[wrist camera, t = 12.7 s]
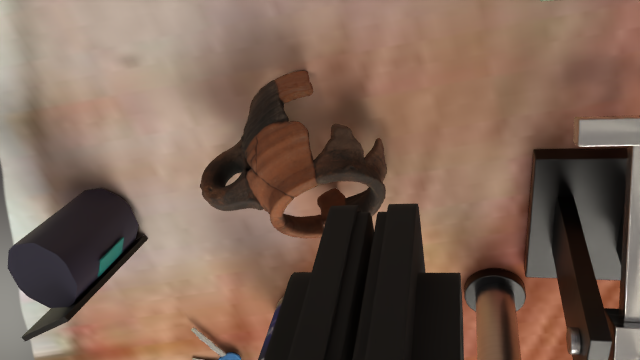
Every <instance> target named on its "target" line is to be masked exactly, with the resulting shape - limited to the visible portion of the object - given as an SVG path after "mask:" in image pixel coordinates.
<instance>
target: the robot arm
mask: <svg viewBox="0 0 640 360" xmlns="http://www.w3.org/2000/svg"><path fill="white" fill-rule="evenodd" d="M264 360H464V346H463V312H462V292H461V276H460V273H425V264H424V254H423V244H422V235H421V225H420V215H419V207H418V204H389V205H388V210H387V212H378V214H377V219H376V225H375V230H374V228H373V222H372V216H371V213H370V212H362V211H361V208H360V206H359V205H343V206H331V207H330V209H329V212H328V216H327V219H326V223H325V226H324V230H323V234H322V237H321V241H320V244H319V248H318V252H317V255H316V259H315V262H314V266H313V270H312V272H294V273H293V274H292V275H291V277H290V279H289V282H288V285H287V288H286V291H285V294H284V297H283V300H282V304H281V307H280V310H279V313H278V316H277V319H276V323H275V326H274V329H273V332H272V335H271V338H270V341H269V345H268V348H267V351H266V354H265V357H264Z"/></svg>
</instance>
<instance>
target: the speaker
mask: <svg viewBox="0 0 640 360" xmlns="http://www.w3.org/2000/svg"><path fill="white" fill-rule="evenodd" d="M138 226H139V225H138V223H137V220H136V218H135V216H134V214H133V212H132V209H131V207H130V206H129V205H128V204H127V203H126V201H125V200H124V199H123V198H121V197H119V196H117V195H115V194H113V193H111V192H109V191H107V190H105V189H103V188H100V189H92V190H85V191H84V192H82V193H81V194H80V195H78V196H77V197H76V198H75V199H73V200H72V201H71V202H69V203H68V204H67V205H65V206H64V207H63V208H61V209H60V210H59V211H58V212H56V213H55V214H54V215H52V216H51V217H50V218H48V219H47V220H46V221H45V222H43V223H42V224H41V225H39V226H38V227H37V228H35V229H34V230H33V231H32V232H30V233H29V234H28V235H26V236H25V237H24V238H22V239H21V240H20V241H18V242H17V243H16V244H15V245H14V246H13V247H12V248H11V249H10V250H9V256H8V269H9V271H10V273H11V275H12V276H13V278H14V280H15V282H16V283H17V285H18V287H19V288H20V289H21V290H22V291H23V292H24V293H25V294H26V295H27V296H28V297H30V298H31V299H33V300H35V301H37V302H39V303H41V304H43V305H45V306H47V307H49V308H51V309H50V310H49V311H48V312H47V313H46V314H45V315H44V316H43V317H42V318H41V319H40V320H39V321H38V322H37V323H36V324H35V325H34V326H32V327H31V328H30V329H29V330H28V331H27V332H26V333H25V334H24V335H23V336H22V338H23V339H24V340H25V341H27V340H29V339H31V338H33V337H35V336H38V335H40V334H42V333H44V332H46V331H48V330H50V329H53V328H55V327H57V326H59V325H61V324H63V323H66V322H68V321H69V320H70V319H71V318H72V317H73V316H74V315H75V314H76V313H77V312H78V311H79V310H80V309H81V308H82V307H83V306H84V305H85V304H86V303H87V301H88V300H89V299H90V298H91V297H92V296H93V295H94V294H95V293H96V292H97V291H98V290H99V289H100V288H101V287H102V286H103V285H104V284H105V283H106V282H107V281H108V280H109V279H110V278H111V277H112V276H113V275H114V274H115V272H116V271H117V270H118V269H119V268H120V267H121V266H122V265H123V264H124V263H125V262H126V261H127V260H128V259H129V258H130V257H131V256H132V255H133V254H134V253H135V252H136V251H137V250H138V249H139V248H140V247H141V246H142V245H143V244H144V242H145V241H146V240H147V239H148V238H147V237H146V236H145V235H144V236H142V237H140V238H139V239H137V240H136V235H137V231H138Z"/></svg>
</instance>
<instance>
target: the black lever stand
mask: <svg viewBox="0 0 640 360" xmlns="http://www.w3.org/2000/svg"><path fill="white" fill-rule="evenodd" d="M626 165H627V148H610V149H538V150H534V151H533V163H532V175H531V187H530V200H529V212H528V224H527V237H526V249H525V261H524V269H525V276H526V277H538V278H557V279H558V284H559V289H560V295H561V300H562V305H563V310H564V315H565V320H566V326H567V336H566V338H567V349H568V352H569V354H572V357H573V360H609V356H610V351H611V346H612V342H613V341H612V337H611V333H610V330H609V326H608V322H607V318H606V315H605V311H604V307H603V303H602V300H601V296H600V292H599V289H598V285H597V281H596V280H621V261H622V242H623V223H624V203H625V184H626Z"/></svg>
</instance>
